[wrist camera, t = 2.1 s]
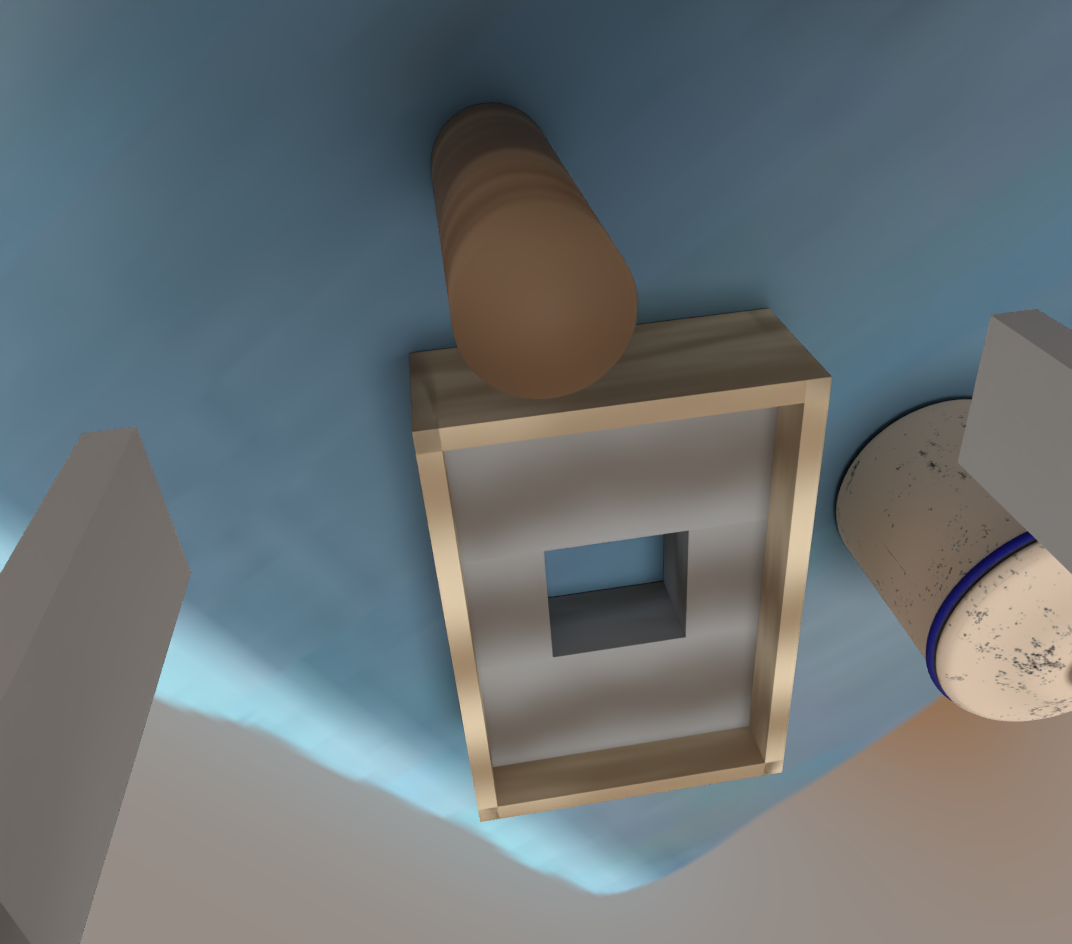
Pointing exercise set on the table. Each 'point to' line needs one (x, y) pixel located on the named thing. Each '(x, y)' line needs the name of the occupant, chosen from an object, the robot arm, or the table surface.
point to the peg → (525, 259)
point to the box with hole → (617, 514)
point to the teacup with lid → (959, 570)
